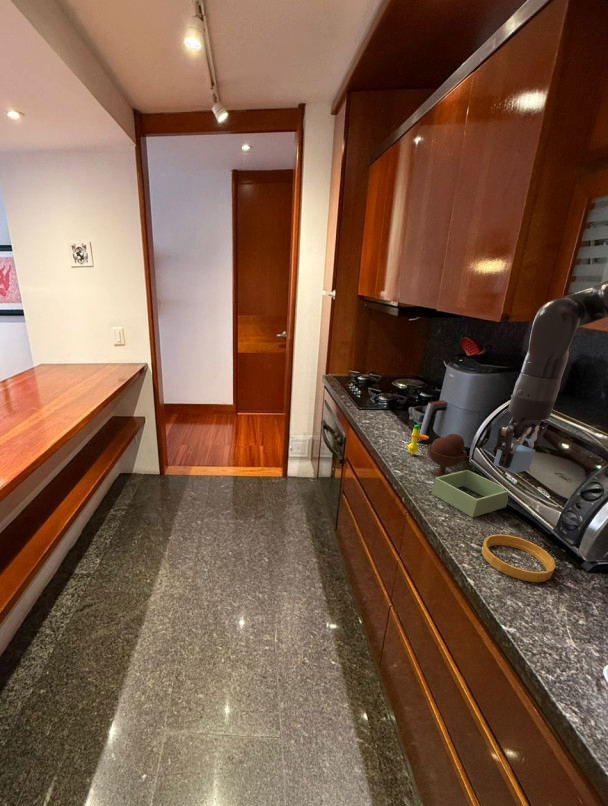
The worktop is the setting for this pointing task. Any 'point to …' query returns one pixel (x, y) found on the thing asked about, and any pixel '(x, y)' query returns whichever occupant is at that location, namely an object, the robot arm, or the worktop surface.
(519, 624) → the worktop surface
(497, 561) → the wide orange band ring
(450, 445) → the ice cream bowl
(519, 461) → the toy block
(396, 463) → the worktop surface
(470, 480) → the sage bin
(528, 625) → the worktop surface
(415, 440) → the toy figure
